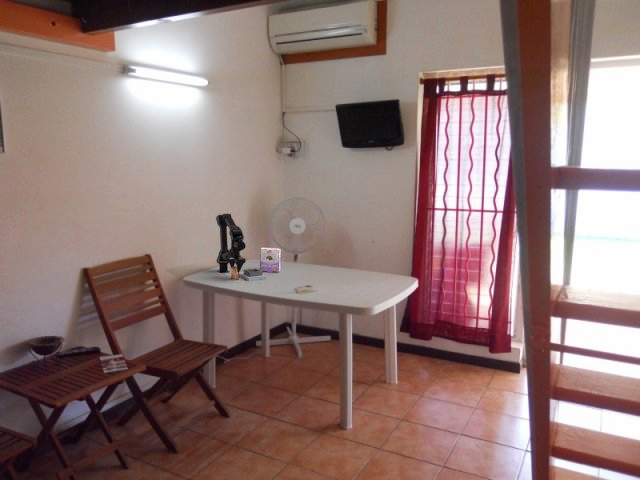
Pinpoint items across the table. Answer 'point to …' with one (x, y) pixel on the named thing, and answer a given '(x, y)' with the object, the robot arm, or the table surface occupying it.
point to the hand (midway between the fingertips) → (235, 270)
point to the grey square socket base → (252, 274)
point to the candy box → (270, 259)
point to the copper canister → (234, 273)
